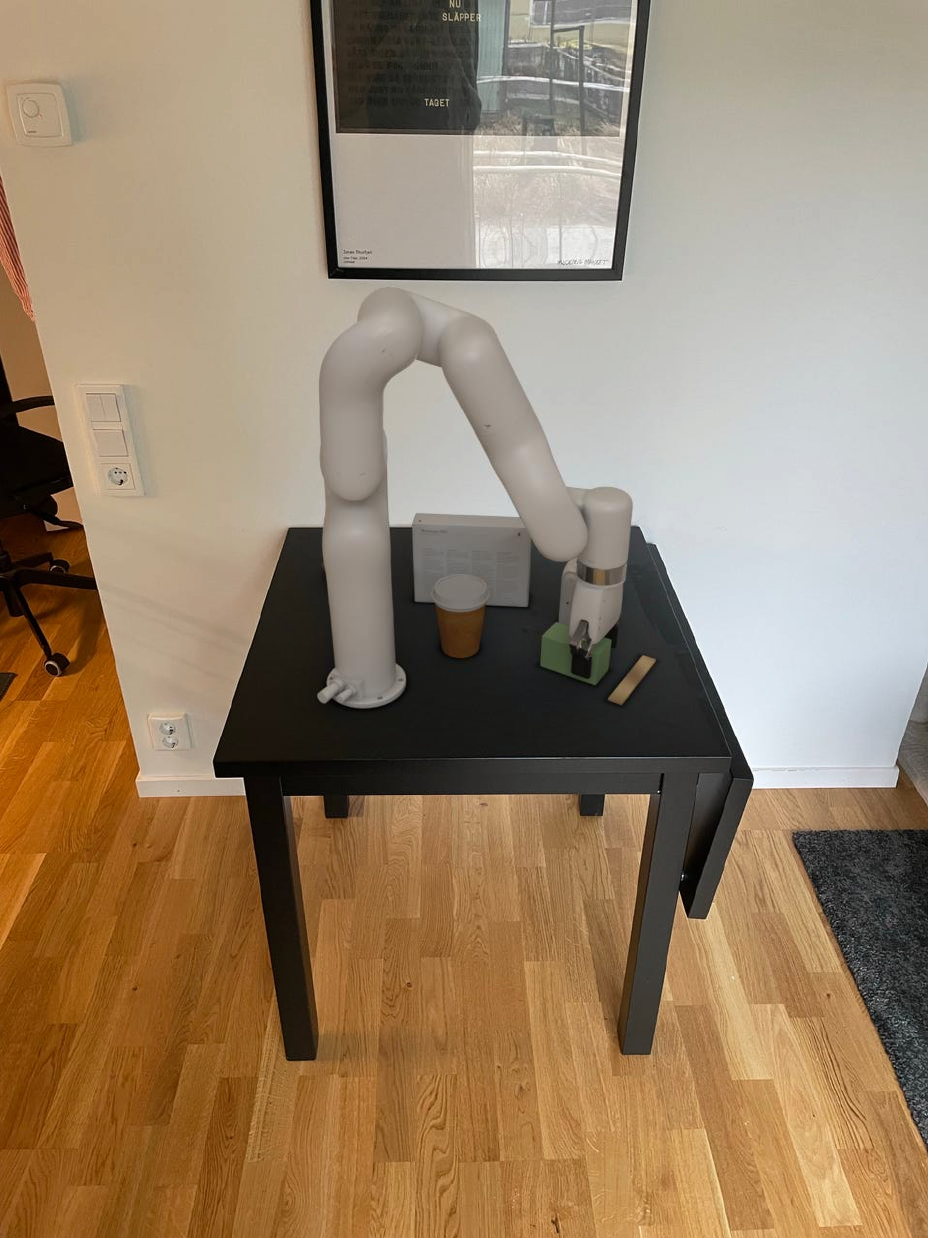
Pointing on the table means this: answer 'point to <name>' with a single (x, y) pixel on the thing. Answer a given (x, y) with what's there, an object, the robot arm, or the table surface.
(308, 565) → the table surface
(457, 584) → the disposable coffee cup
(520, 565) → the skincare box
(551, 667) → the green box
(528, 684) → the table surface
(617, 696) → the strip
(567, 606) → the photo printer
